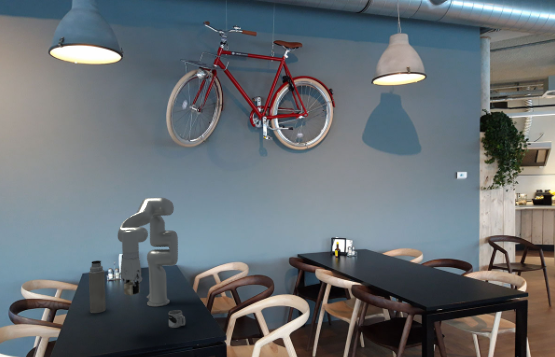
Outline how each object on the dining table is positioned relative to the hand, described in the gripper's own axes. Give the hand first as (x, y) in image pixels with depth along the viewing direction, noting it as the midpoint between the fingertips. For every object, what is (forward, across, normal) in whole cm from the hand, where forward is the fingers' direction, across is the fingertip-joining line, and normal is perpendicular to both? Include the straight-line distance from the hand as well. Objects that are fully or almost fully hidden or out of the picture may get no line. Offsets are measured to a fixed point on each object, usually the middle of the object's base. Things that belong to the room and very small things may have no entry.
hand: (132, 292), depth 207 cm
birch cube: (+1, 0, 0) cm, 1 cm away
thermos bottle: (+19, -43, +10) cm, 48 cm away
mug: (+19, +14, +16) cm, 29 cm away
